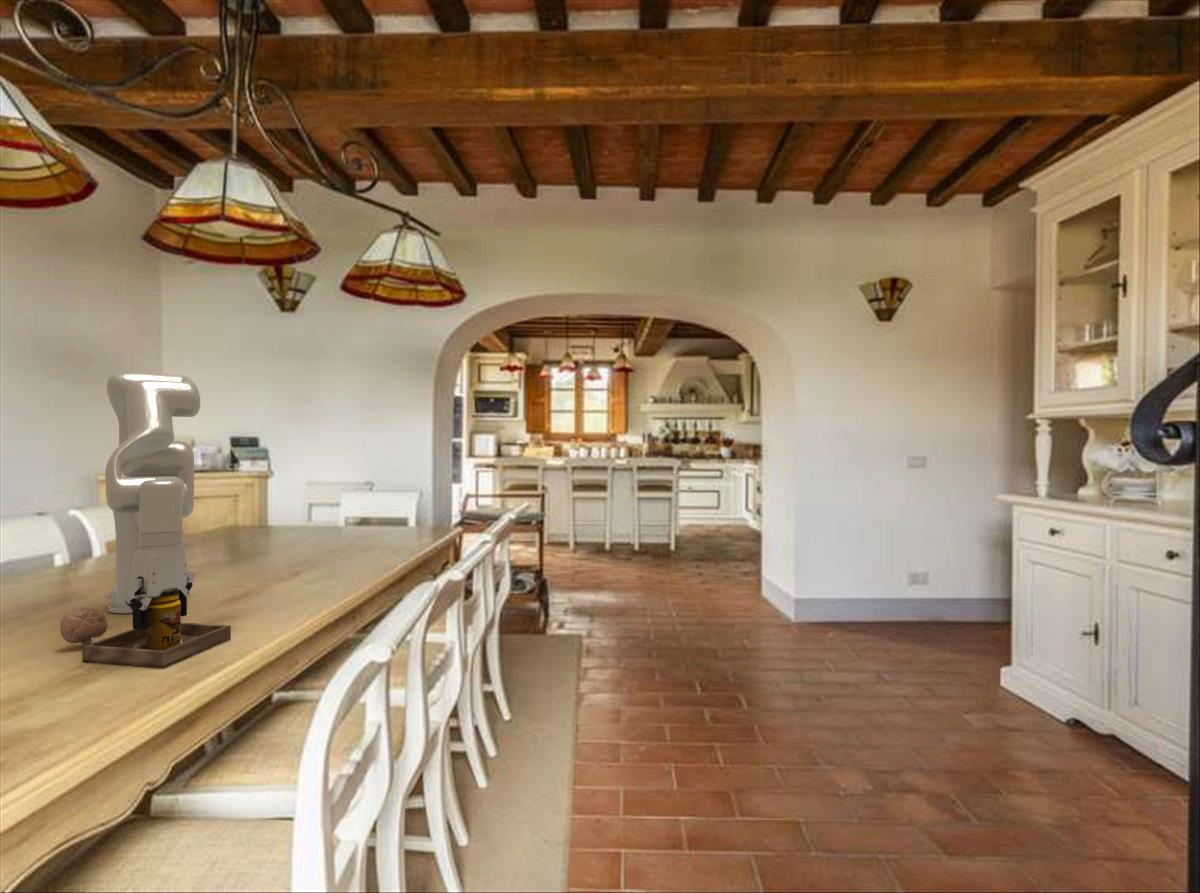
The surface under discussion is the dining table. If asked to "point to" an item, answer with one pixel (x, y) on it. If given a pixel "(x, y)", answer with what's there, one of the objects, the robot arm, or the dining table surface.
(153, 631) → the condiment
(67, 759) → the dining table surface
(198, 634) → the tray
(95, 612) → the mushroom
